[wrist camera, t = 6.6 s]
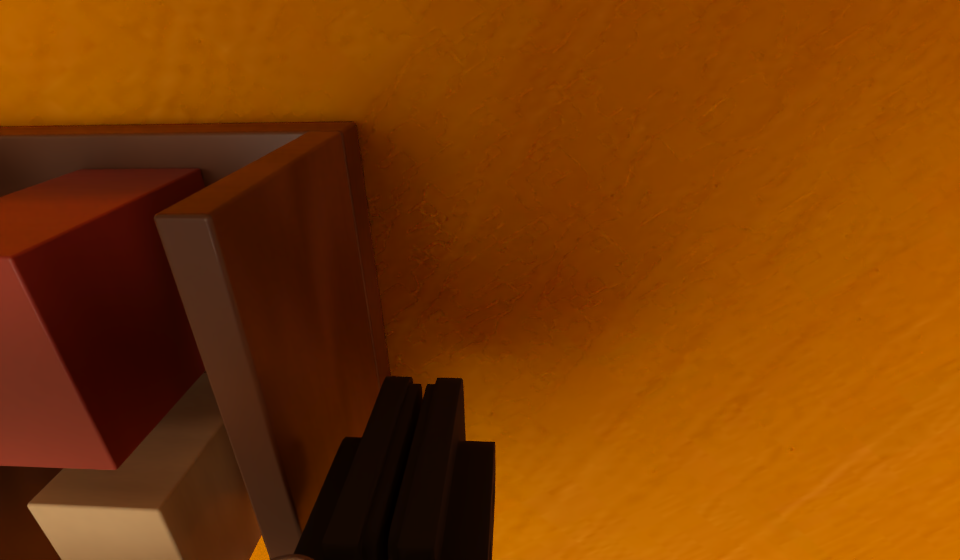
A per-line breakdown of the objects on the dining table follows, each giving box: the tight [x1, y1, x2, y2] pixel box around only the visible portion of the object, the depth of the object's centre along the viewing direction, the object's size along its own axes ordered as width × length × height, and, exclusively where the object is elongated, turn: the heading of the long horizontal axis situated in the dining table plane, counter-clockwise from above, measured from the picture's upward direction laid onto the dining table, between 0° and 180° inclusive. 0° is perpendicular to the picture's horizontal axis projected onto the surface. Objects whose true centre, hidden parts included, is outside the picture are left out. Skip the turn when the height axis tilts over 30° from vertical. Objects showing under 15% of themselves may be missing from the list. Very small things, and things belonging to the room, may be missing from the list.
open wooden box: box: [0, 122, 390, 560], centre depth 12 cm, size 12×10×7 cm
